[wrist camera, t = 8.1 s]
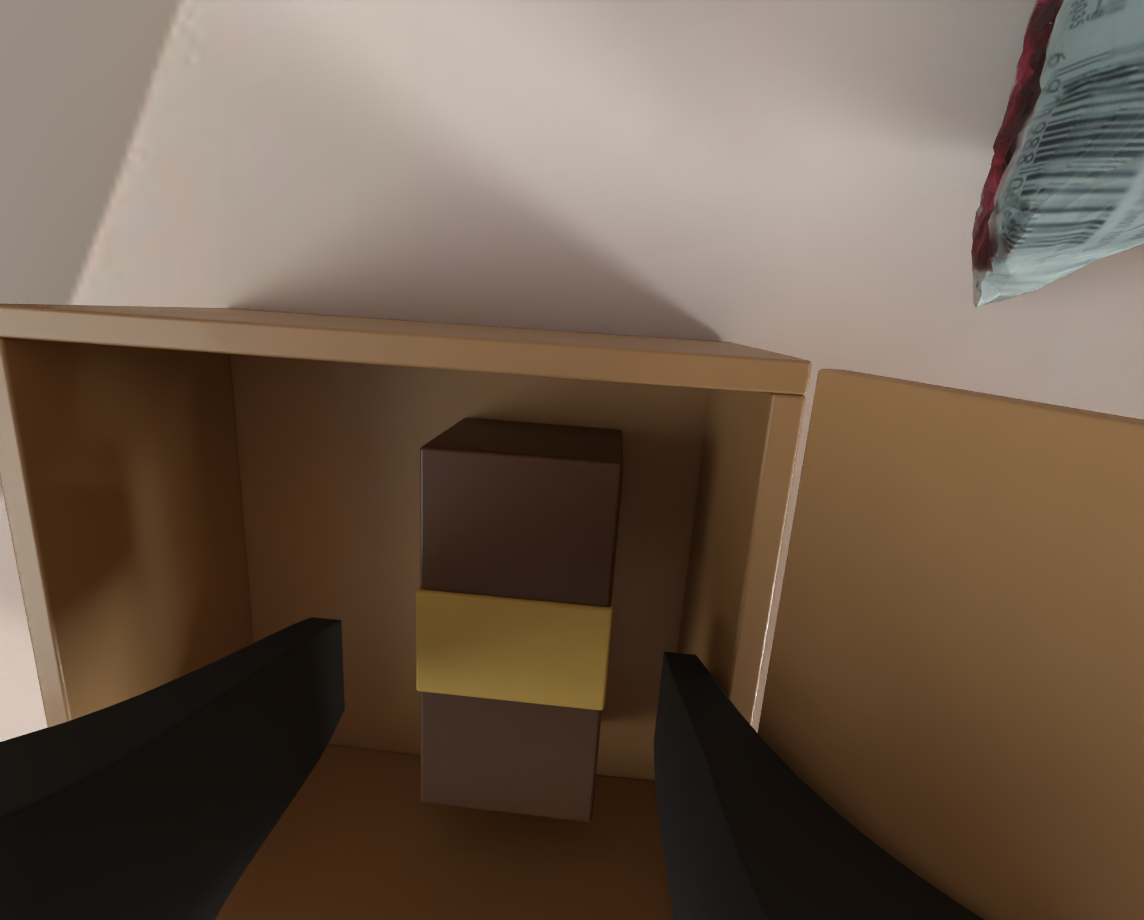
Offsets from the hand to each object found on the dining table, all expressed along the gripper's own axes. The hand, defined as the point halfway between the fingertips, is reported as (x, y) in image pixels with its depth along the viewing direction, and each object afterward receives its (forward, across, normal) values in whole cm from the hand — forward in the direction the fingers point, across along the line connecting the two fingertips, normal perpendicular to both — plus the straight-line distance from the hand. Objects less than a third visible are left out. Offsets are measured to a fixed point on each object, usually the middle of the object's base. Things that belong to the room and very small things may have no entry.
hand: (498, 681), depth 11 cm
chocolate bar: (+4, 0, 0) cm, 4 cm away
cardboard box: (+5, +2, 0) cm, 5 cm away
